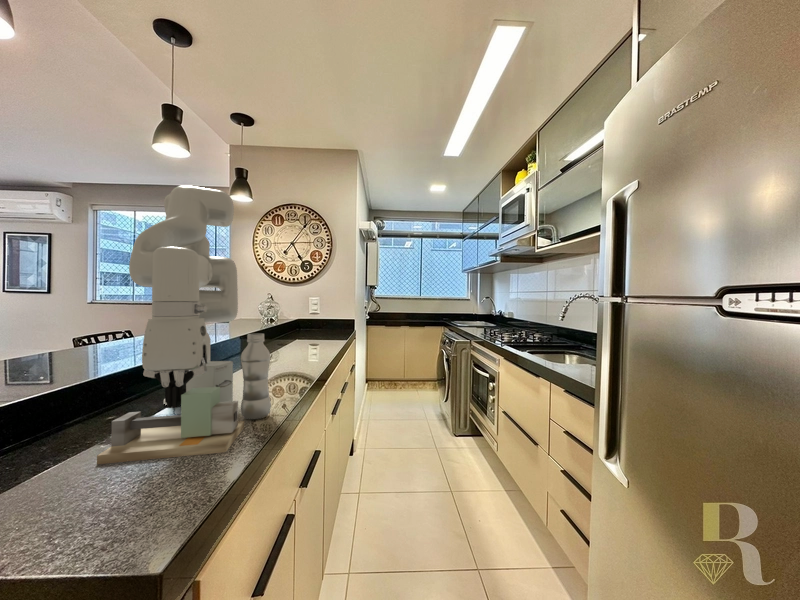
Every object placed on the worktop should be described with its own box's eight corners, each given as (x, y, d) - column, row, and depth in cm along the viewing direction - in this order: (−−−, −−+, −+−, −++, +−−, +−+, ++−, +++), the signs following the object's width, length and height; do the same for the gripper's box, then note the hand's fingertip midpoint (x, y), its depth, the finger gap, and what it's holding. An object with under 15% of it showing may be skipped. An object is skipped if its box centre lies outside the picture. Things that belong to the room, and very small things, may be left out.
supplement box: (213, 419, 74) (213, 365, 75) (185, 418, 75) (185, 365, 76) (233, 409, 82) (233, 360, 82) (207, 408, 83) (207, 360, 83)
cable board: (139, 436, 65) (140, 401, 65) (244, 427, 69) (244, 395, 69) (96, 464, 53) (97, 422, 53) (225, 452, 57) (225, 413, 57)
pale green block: (192, 427, 64) (193, 388, 64) (219, 425, 65) (219, 386, 65) (181, 437, 59) (181, 394, 59) (210, 435, 60) (210, 393, 60)
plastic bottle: (260, 423, 71) (260, 335, 72) (233, 421, 73) (234, 335, 73) (276, 414, 78) (276, 333, 78) (252, 412, 79) (252, 332, 79)
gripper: (224, 310, 66) (224, 398, 66) (144, 311, 64) (144, 402, 63) (210, 311, 59) (209, 409, 59) (119, 312, 56) (118, 415, 56)
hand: (175, 405), depth 61 cm, fingers closed
